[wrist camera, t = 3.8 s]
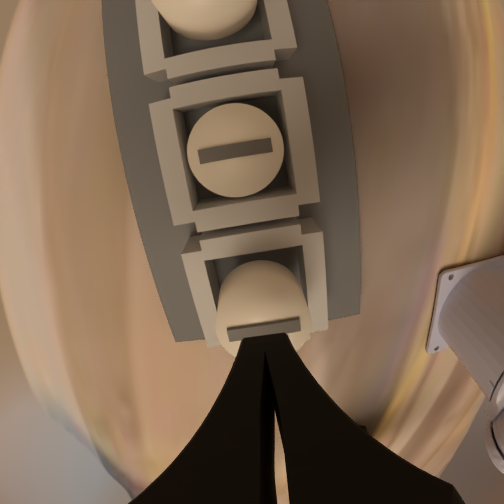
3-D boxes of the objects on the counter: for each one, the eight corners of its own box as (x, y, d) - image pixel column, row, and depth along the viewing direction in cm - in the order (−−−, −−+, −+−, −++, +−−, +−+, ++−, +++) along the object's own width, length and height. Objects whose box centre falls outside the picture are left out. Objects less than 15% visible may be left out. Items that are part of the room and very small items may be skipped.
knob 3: (297, 253, 14) (309, 281, 11) (304, 324, 15) (314, 358, 13) (211, 267, 14) (204, 297, 12) (228, 335, 16) (226, 371, 13)
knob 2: (270, 102, 14) (276, 95, 11) (282, 180, 15) (290, 190, 13) (189, 116, 14) (178, 113, 11) (204, 193, 15) (196, 205, 13)
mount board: (308, -30, 12) (323, -62, 8) (352, 301, 20) (372, 336, 16) (111, 5, 12) (83, -18, 8) (179, 327, 20) (169, 366, 17)
